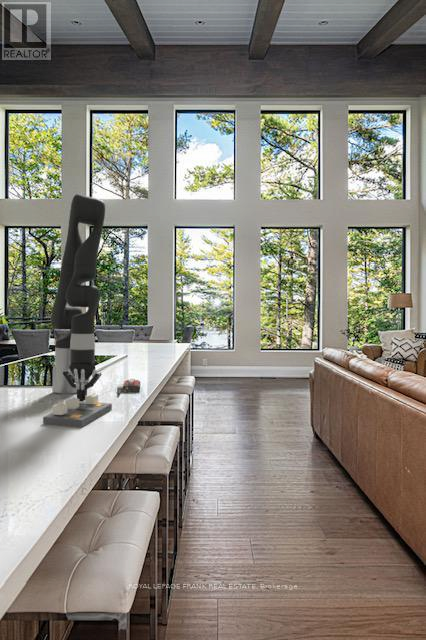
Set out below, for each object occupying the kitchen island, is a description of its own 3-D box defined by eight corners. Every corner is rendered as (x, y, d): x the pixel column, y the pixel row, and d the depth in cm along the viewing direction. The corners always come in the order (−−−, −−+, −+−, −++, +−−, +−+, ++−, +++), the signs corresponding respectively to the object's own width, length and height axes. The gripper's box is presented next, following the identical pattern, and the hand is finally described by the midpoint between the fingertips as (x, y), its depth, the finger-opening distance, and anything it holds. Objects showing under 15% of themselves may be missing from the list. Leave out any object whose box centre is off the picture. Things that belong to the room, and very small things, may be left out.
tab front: (52, 414, 121) (52, 404, 121) (58, 411, 124) (58, 402, 124) (62, 415, 121) (62, 405, 121) (67, 412, 124) (67, 403, 123)
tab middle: (65, 408, 128) (65, 399, 128) (70, 406, 131) (70, 397, 131) (74, 409, 128) (74, 399, 127) (79, 406, 130) (79, 397, 130)
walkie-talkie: (119, 386, 176) (115, 397, 156) (119, 376, 176) (115, 385, 156) (140, 386, 177) (139, 397, 157) (141, 376, 177) (139, 385, 157)
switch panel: (43, 423, 120) (43, 416, 120) (77, 407, 140) (77, 400, 140) (82, 427, 118) (82, 419, 118) (111, 409, 138) (111, 403, 138)
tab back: (85, 403, 134) (85, 395, 134) (89, 401, 137) (89, 393, 137) (93, 404, 134) (94, 395, 134) (98, 402, 137) (98, 393, 137)
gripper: (57, 347, 133) (56, 402, 134) (96, 349, 130) (95, 405, 131) (69, 345, 140) (69, 396, 141) (106, 347, 138) (106, 399, 138)
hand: (81, 400), depth 136 cm, fingers closed
